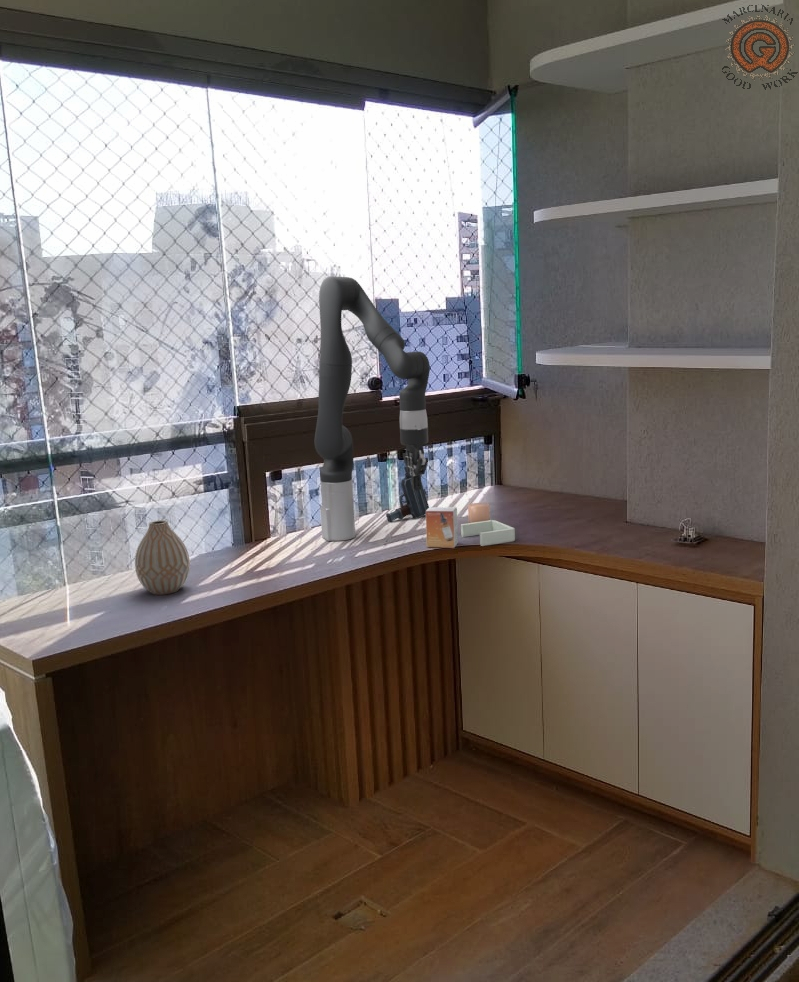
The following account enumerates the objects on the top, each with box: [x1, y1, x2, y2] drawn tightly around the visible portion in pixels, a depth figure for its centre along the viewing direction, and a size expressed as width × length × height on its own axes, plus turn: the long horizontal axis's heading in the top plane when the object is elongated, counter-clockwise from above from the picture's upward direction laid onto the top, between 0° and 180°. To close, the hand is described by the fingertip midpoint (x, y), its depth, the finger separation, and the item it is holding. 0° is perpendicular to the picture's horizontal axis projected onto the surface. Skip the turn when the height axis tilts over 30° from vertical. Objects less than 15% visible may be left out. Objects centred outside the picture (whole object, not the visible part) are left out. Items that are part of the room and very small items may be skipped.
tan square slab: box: [467, 502, 491, 523], centre depth 284 cm, size 6×6×7 cm
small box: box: [425, 506, 459, 549], centre depth 265 cm, size 8×6×10 cm
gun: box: [385, 466, 430, 523], centre depth 299 cm, size 3×17×15 cm
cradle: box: [460, 519, 516, 547], centre depth 271 cm, size 11×13×4 cm
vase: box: [134, 519, 191, 596], centre depth 233 cm, size 13×13×18 cm
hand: (416, 489), depth 260 cm, fingers closed
